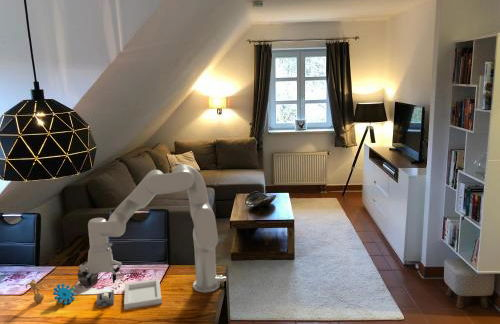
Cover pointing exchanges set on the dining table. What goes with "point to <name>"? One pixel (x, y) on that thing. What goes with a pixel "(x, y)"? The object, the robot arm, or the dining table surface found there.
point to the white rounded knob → (105, 296)
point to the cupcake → (84, 280)
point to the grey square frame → (105, 302)
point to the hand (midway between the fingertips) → (102, 283)
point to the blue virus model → (64, 293)
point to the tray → (142, 294)
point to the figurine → (38, 296)
